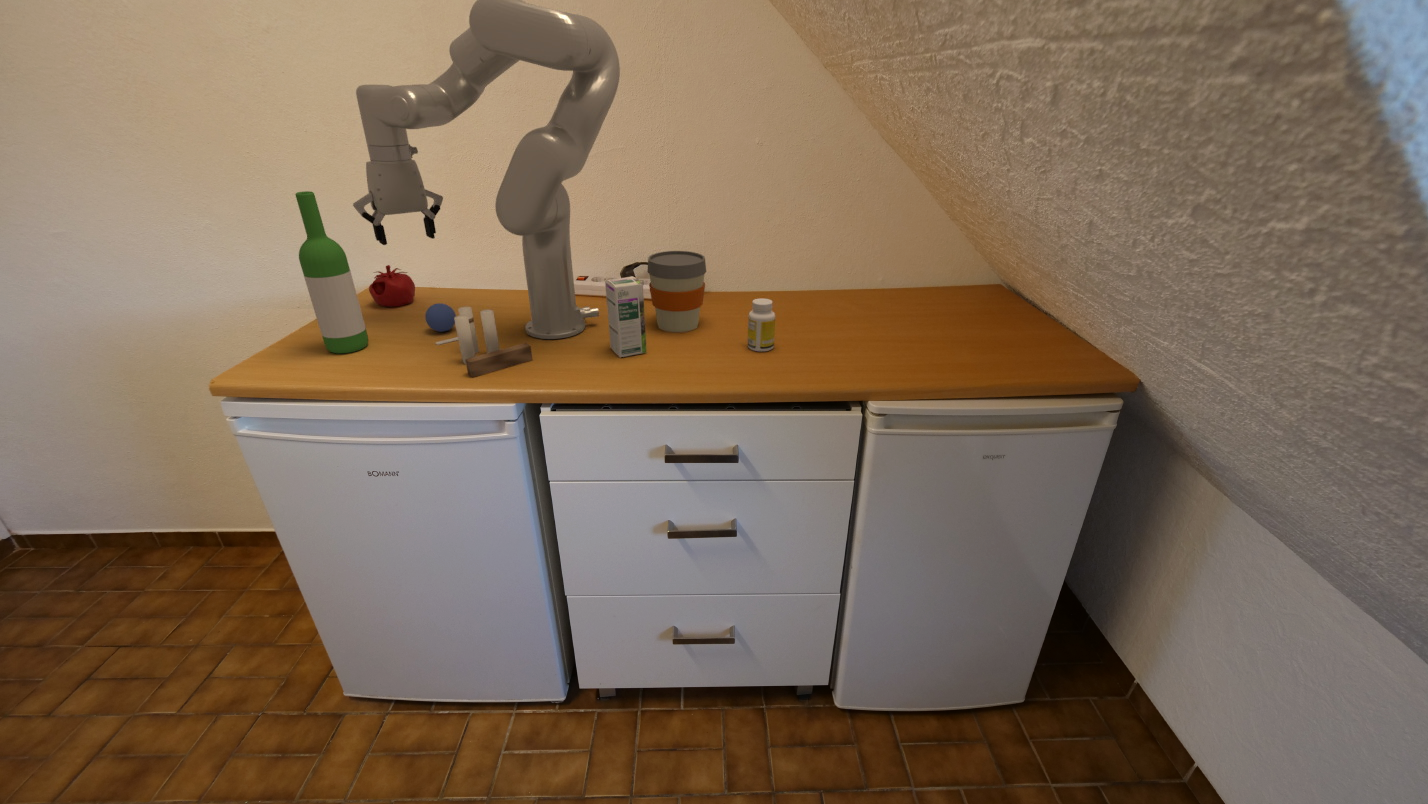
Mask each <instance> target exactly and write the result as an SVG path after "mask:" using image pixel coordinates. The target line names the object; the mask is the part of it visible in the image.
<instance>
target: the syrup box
mask: <svg viewBox="0 0 1428 804" xmlns="http://www.w3.org/2000/svg"><path fill="white" fill-rule="evenodd" d="M604 282H605V283H604V284H605V296H606V304H607V305H606V307H607V308H606V309H607V317H608V318H607V319H608V334H609V340H610V341H609V342H610V349H611V350H612V351H613V352H614V353H615V354H616V355H617V356H618V357H619V358H620V359H622V358H621V357H623V358H624V357H625V358H626V357H630V356H634V355H635V356H636V355H640V354H641V355H642V354H646V353H647V337H646V335H647V334H646V333H647V332H646V317H645V297H644V296H645V295H644V284H643V282H642V281H641V280H639V279H638V278H636V277H634V276H627V277H619V278H614V279H613V278H612V279H605V281H604Z"/></svg>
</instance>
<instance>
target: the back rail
mask: <svg viewBox="0 0 1428 804" xmlns="http://www.w3.org/2000/svg"><path fill="white" fill-rule="evenodd" d="M533 360H534V359H533V352H532V346H531V345H530V344H529V343H527V342H524V343H519V344H516V345H513V346H510V347H505V348H502V349H500V350H497V351H494V352H490V353H487V352H486V353H483V354H479V355H475V357H472V358H468V359H465V361H466V364H465V365H466V371H467V375H468V376H469V377H471V378H473V379H474V378H476V377H479V376H483V375H486V373H487V374H490V373H493V372H496V371H500V370H503V369H507V368H511V367H514V366H516V365H521V364H525V363H527V362H531V361H533Z"/></svg>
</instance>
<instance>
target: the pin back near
mask: <svg viewBox="0 0 1428 804" xmlns="http://www.w3.org/2000/svg"><path fill="white" fill-rule="evenodd" d="M494 313H495V312H494V310H493V309H490V308H489V309H483V310H481V311H480V312H479V315H480V318H481V325H482V331H483V338H484V343H485V348H486V353H490V352H494V351H497V350H501V349H500V343H499V337H498V331H497V325H496V320H495V314H494Z"/></svg>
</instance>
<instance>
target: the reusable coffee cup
mask: <svg viewBox="0 0 1428 804" xmlns="http://www.w3.org/2000/svg"><path fill="white" fill-rule="evenodd" d="M647 273H648V274H649V280H650V282H649V284H648V286H649V292H650V293H649V294H650V297H651V304H652V306H653V307H654V309H655V316H656V321H657V326H658V328H659V329H660V330H661V331H664V332H665V331H666V332H670V333H683V332H684V333H686V332H690V331H693V330H695V329H697V327H698V326H699V322H700V321H699V319H700V314H701V313H700V311H701V307H703V302H704V295H705V288H706V283H705V274H706V273H707V264H706V257H705V255H703V254H701V253H698V252H694V251H688V250H687V251H686V250H668V251H660V252H656V253H653V254H651V255H649V256H648V259H647Z"/></svg>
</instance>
